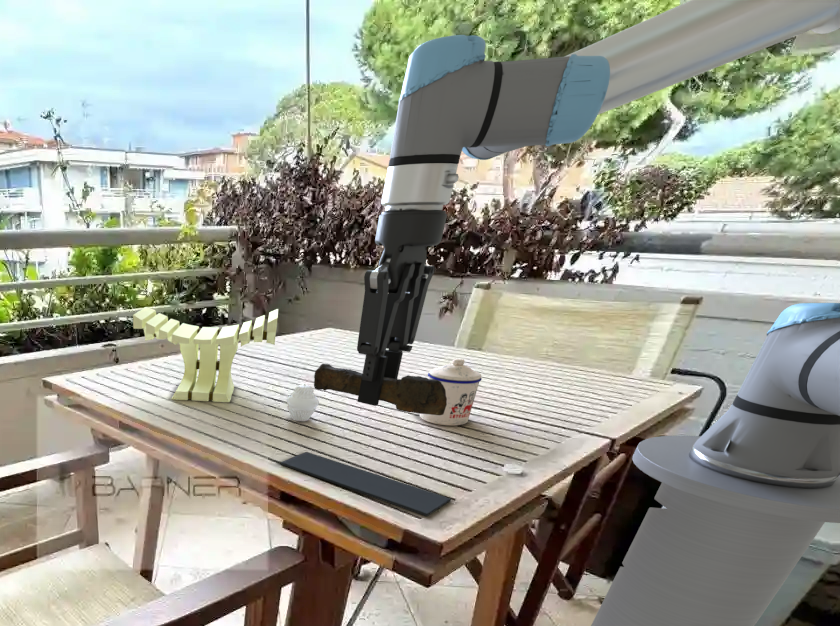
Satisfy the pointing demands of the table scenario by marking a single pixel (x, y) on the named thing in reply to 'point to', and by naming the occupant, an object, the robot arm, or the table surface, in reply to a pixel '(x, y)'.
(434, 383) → the hand tool
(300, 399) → the white ribbed jar
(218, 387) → the slatted curved stool
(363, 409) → the table surface
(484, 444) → the table surface
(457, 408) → the teacup with lid
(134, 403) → the table surface
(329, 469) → the edge strip
